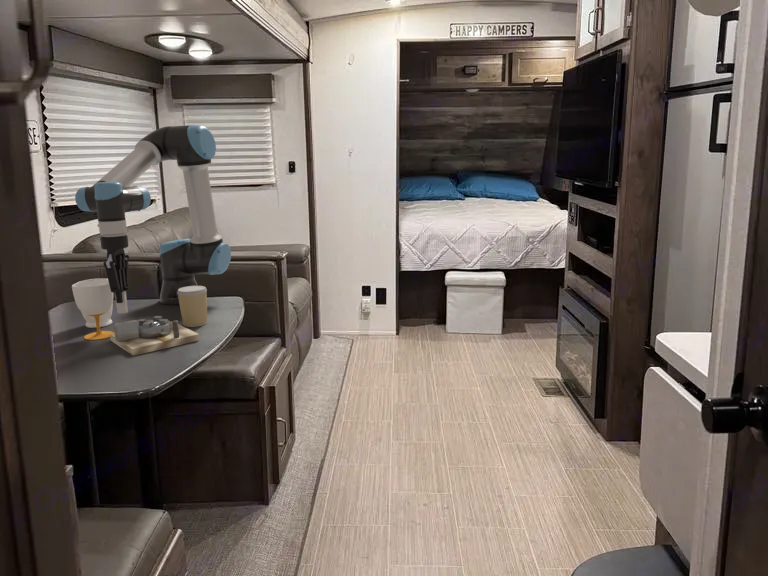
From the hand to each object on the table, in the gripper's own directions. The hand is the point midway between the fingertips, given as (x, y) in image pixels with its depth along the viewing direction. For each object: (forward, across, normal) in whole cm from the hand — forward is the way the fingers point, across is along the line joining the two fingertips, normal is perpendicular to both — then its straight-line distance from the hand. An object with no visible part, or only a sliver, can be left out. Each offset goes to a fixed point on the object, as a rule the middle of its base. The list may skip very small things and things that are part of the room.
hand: (122, 312), depth 196 cm
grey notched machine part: (+7, +2, +6) cm, 9 cm away
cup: (+9, -7, -11) cm, 16 cm away
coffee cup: (+9, -18, +16) cm, 26 cm away
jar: (+9, -20, -17) cm, 28 cm away
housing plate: (+9, 0, +9) cm, 13 cm away
